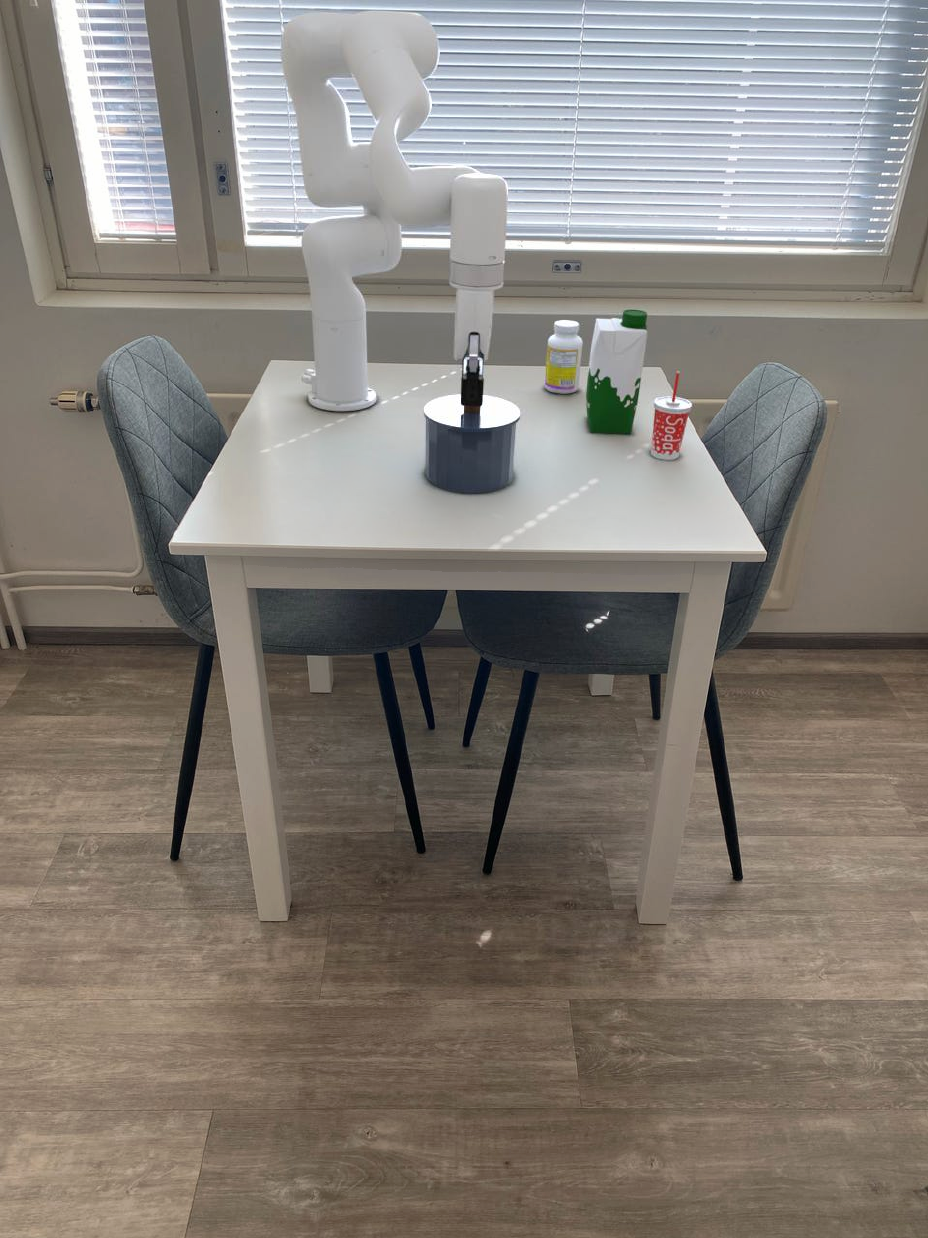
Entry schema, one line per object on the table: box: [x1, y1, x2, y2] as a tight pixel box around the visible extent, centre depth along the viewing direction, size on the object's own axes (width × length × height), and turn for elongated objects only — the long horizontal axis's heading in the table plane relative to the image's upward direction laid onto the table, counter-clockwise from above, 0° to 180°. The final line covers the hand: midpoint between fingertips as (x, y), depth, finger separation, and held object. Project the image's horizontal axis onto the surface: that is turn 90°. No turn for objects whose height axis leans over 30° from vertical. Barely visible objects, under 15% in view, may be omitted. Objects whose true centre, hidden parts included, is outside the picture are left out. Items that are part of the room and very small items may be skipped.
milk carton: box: [585, 309, 648, 435], centre depth 155 cm, size 9×9×20 cm
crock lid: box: [423, 393, 521, 432], centre depth 134 cm, size 15×15×6 cm
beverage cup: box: [650, 371, 693, 461], centre depth 146 cm, size 6×6×14 cm
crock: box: [424, 418, 517, 495], centre depth 138 cm, size 14×14×10 cm
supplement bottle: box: [544, 319, 583, 395], centre depth 173 cm, size 7×7×13 cm
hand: (471, 394), depth 133 cm, fingers open, 9 cm apart
